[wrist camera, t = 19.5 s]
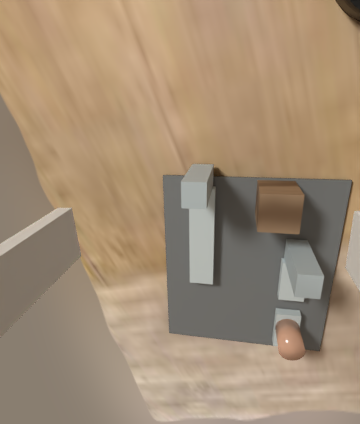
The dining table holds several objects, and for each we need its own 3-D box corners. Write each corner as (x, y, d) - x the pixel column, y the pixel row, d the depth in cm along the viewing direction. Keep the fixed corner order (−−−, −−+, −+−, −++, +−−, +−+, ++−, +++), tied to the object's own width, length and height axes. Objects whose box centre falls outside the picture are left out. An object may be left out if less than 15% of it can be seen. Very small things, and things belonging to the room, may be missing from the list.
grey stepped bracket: (190, 163, 47) (177, 181, 37) (216, 164, 46) (210, 182, 37) (191, 277, 54) (180, 316, 45) (213, 279, 53) (207, 319, 44)
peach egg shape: (276, 317, 52) (279, 339, 47) (300, 320, 51) (306, 342, 47) (274, 335, 53) (277, 358, 49) (297, 338, 53) (303, 361, 48)
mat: (163, 175, 49) (162, 175, 48) (351, 179, 44) (351, 180, 44) (169, 331, 60) (169, 332, 60) (318, 349, 55) (319, 351, 55)
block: (257, 179, 46) (260, 193, 40) (295, 180, 45) (304, 195, 39) (254, 213, 48) (257, 231, 42) (291, 215, 47) (299, 234, 41)
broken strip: (283, 238, 48) (294, 273, 39) (310, 240, 48) (327, 276, 38) (272, 339, 56) (278, 389, 46) (294, 341, 55) (306, 393, 45)
